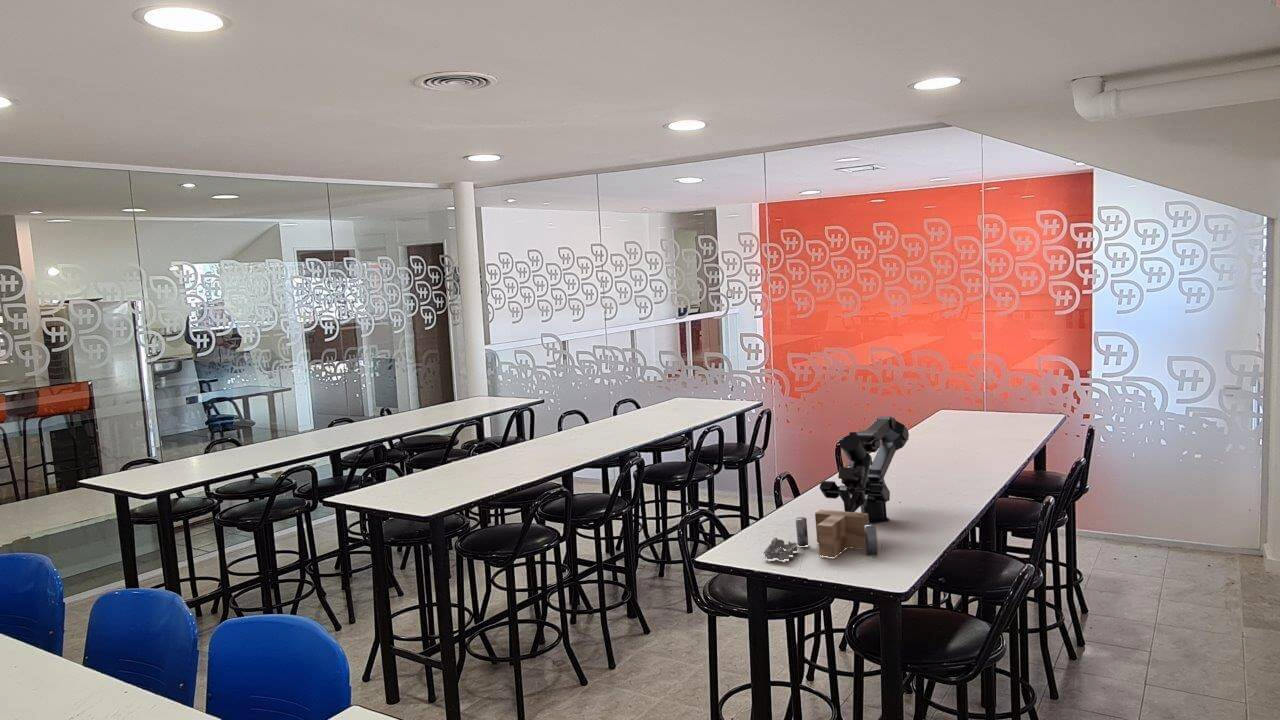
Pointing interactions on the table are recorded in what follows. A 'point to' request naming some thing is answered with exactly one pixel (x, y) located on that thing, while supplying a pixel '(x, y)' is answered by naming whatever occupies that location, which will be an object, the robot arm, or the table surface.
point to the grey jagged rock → (780, 549)
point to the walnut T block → (840, 531)
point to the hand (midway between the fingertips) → (847, 517)
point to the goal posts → (869, 535)
